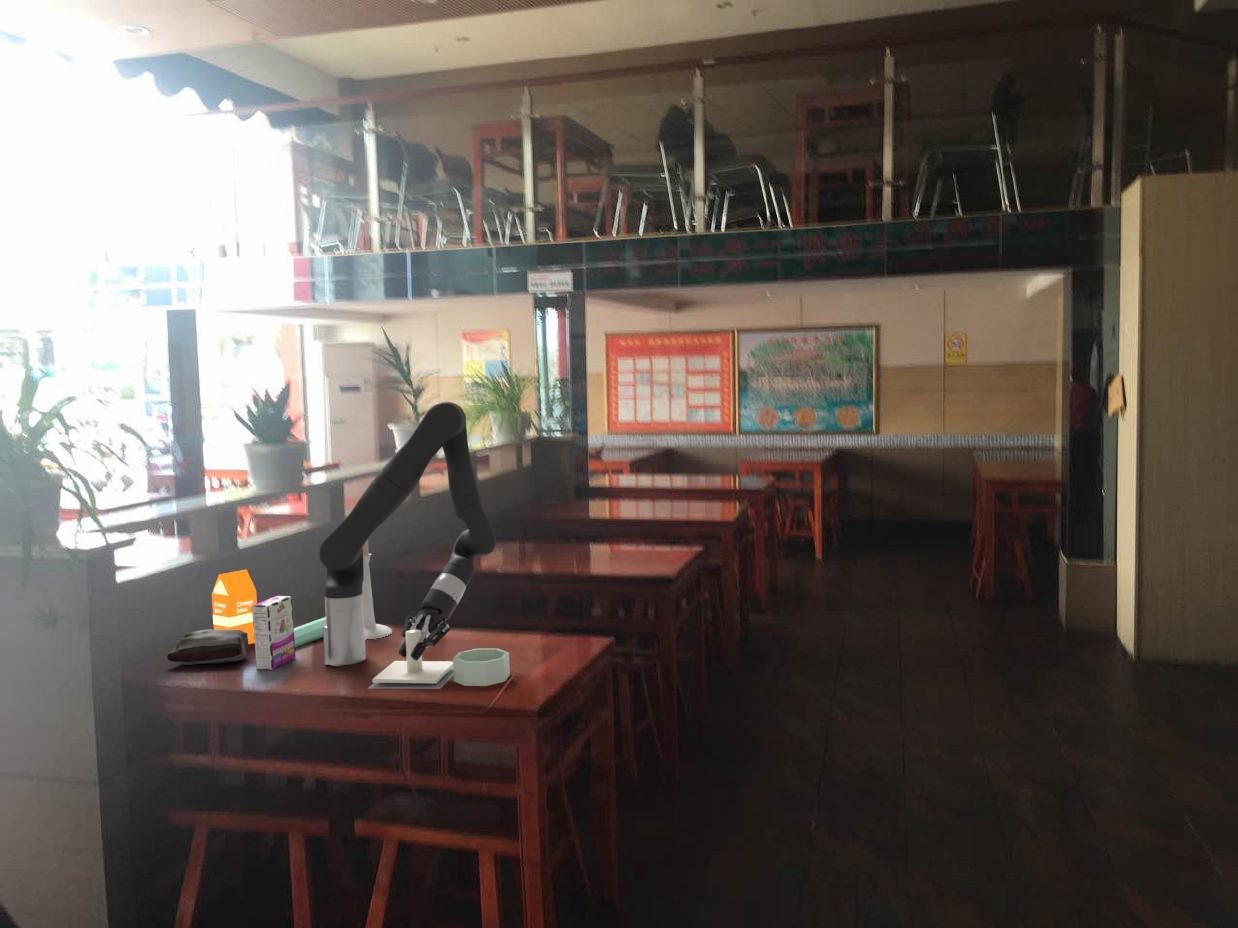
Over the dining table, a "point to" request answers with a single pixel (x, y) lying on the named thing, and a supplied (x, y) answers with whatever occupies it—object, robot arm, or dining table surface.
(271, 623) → the candy bar box
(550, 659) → the dining table surface
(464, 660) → the bowl
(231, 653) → the dark pillow-shaped pouch
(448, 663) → the cover
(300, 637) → the container
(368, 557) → the candlestick
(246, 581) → the orange juice
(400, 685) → the mat
